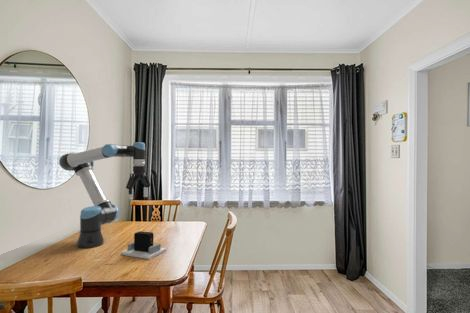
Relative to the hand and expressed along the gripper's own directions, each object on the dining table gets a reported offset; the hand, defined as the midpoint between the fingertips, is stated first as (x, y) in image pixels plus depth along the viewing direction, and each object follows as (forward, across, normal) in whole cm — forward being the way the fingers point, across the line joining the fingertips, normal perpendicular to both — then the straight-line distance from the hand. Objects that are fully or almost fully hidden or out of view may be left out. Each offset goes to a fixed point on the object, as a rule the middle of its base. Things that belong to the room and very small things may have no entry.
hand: (138, 198), depth 181 cm
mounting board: (+29, -16, -18) cm, 37 cm away
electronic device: (+27, -16, -18) cm, 37 cm away
